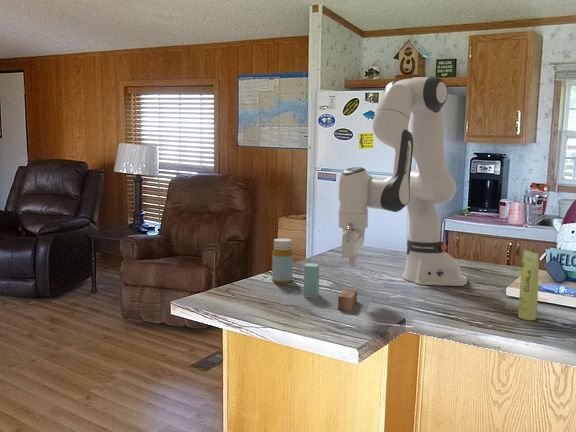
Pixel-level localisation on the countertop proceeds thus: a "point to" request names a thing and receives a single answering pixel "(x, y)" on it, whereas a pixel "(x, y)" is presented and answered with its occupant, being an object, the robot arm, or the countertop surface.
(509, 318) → the countertop surface
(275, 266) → the bottle
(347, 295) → the walnut block
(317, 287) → the teal block
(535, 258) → the tube
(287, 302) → the mat
